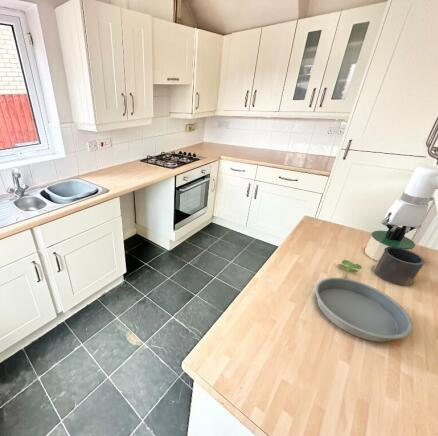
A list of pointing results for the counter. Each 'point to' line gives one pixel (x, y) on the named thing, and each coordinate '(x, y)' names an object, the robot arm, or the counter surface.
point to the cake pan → (362, 310)
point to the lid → (393, 239)
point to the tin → (375, 249)
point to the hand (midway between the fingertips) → (392, 238)
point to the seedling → (350, 266)
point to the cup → (398, 265)
